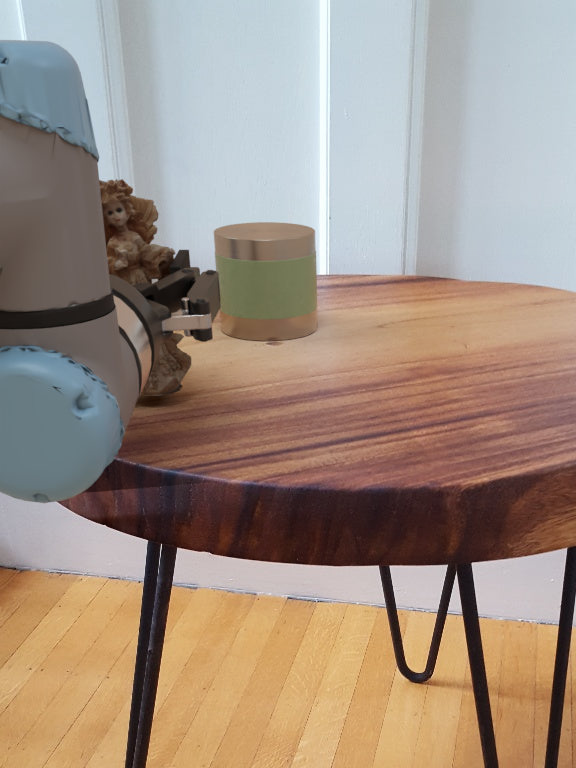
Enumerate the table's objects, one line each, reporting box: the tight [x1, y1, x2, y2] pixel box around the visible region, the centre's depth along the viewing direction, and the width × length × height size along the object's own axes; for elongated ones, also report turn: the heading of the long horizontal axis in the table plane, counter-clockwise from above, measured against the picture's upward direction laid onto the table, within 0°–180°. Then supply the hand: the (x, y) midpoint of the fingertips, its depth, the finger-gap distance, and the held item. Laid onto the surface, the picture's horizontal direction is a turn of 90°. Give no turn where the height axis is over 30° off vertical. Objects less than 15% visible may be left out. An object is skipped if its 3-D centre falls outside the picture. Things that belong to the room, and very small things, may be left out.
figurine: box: [99, 178, 192, 397], centre depth 72 cm, size 7×6×15 cm
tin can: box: [213, 221, 318, 342], centre depth 93 cm, size 10×10×9 cm
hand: (144, 267), depth 76 cm, fingers closed on figurine, 6 cm apart
